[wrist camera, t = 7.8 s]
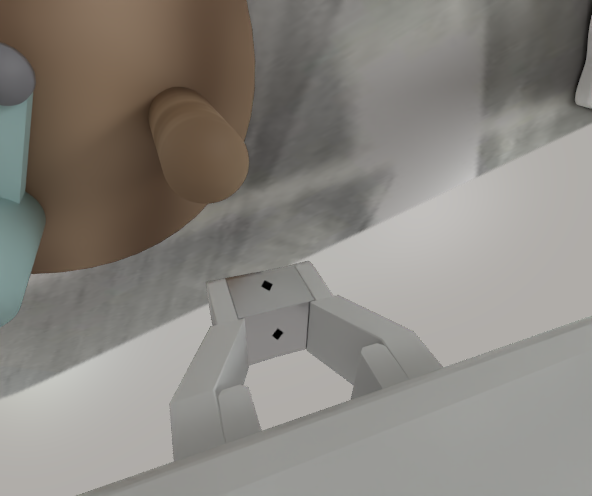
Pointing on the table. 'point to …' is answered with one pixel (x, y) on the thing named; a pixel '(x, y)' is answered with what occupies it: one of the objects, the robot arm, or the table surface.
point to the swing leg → (16, 182)
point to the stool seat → (131, 118)
